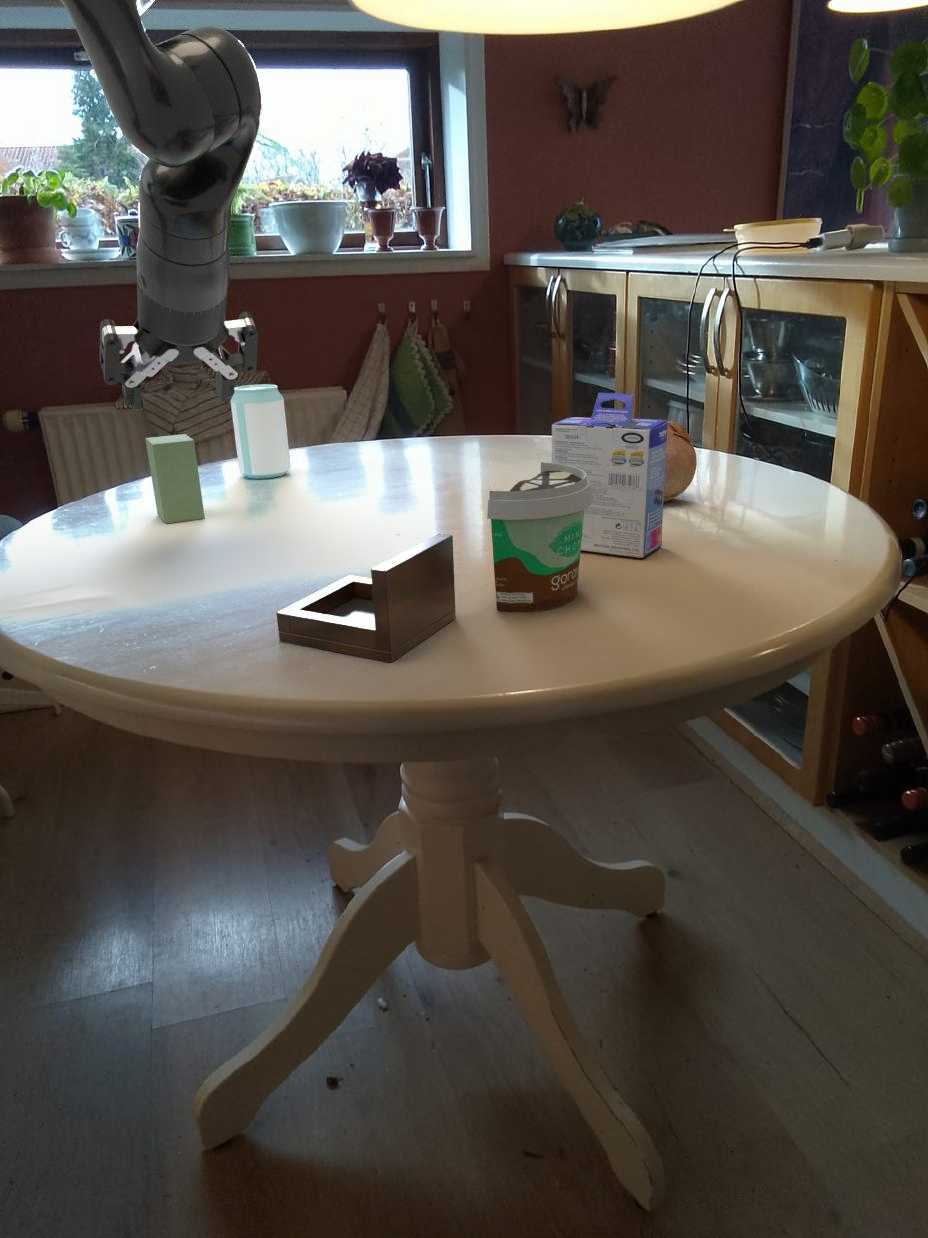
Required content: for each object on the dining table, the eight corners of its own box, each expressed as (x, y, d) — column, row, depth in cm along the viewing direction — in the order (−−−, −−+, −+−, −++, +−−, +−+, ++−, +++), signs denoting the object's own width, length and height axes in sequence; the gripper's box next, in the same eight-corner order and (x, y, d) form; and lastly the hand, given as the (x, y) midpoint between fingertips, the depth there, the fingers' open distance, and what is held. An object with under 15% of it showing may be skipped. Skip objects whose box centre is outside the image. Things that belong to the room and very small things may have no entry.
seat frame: (279, 641, 67) (269, 554, 65) (351, 601, 75) (345, 522, 72) (391, 663, 63) (385, 571, 60) (456, 618, 70) (452, 535, 68)
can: (264, 467, 129) (254, 382, 125) (301, 471, 126) (292, 384, 121) (229, 477, 124) (217, 388, 119) (266, 481, 120) (256, 390, 116)
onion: (680, 521, 106) (724, 445, 103) (652, 518, 98) (698, 435, 95) (617, 484, 110) (656, 409, 107) (584, 478, 102) (626, 397, 99)
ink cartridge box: (664, 545, 87) (672, 393, 82) (646, 560, 83) (653, 401, 77) (570, 534, 92) (572, 389, 86) (548, 548, 87) (548, 397, 82)
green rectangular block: (164, 524, 101) (152, 444, 98) (157, 514, 105) (145, 437, 102) (205, 518, 103) (194, 439, 99) (196, 509, 107) (185, 433, 104)
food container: (563, 626, 68) (564, 498, 64) (489, 616, 70) (486, 492, 67) (609, 577, 78) (612, 464, 75) (543, 570, 81) (543, 460, 77)
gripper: (253, 242, 81) (239, 364, 95) (86, 246, 75) (96, 375, 89) (276, 305, 78) (258, 421, 92) (104, 314, 72) (112, 436, 86)
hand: (178, 399), depth 90 cm, fingers open, 8 cm apart
